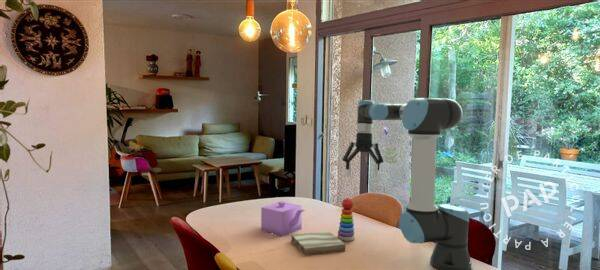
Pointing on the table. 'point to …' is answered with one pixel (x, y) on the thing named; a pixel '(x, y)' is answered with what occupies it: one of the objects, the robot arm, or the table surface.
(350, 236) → the stacking toy
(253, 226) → the table surface
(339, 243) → the wooden square board
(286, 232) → the teapot
